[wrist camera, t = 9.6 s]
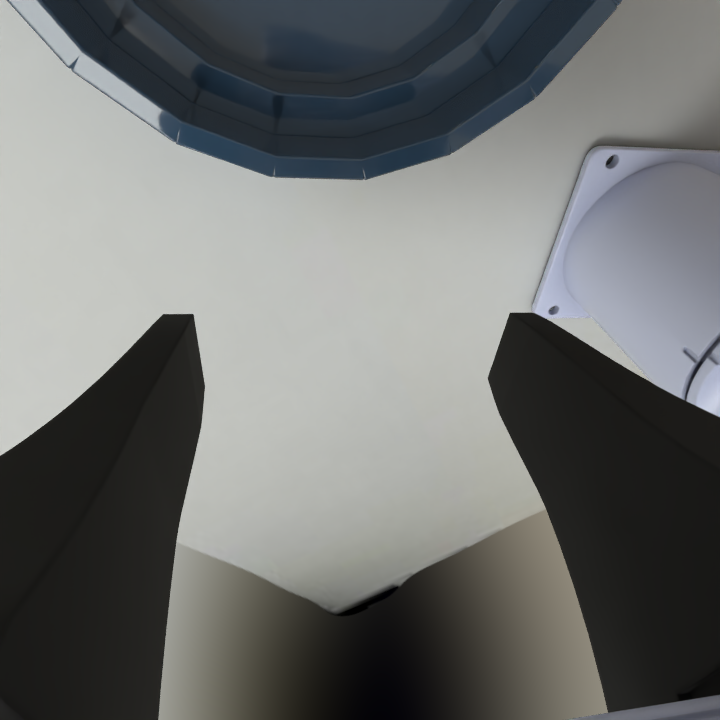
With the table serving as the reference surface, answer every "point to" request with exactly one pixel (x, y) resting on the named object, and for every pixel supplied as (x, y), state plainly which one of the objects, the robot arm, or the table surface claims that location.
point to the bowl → (318, 72)
